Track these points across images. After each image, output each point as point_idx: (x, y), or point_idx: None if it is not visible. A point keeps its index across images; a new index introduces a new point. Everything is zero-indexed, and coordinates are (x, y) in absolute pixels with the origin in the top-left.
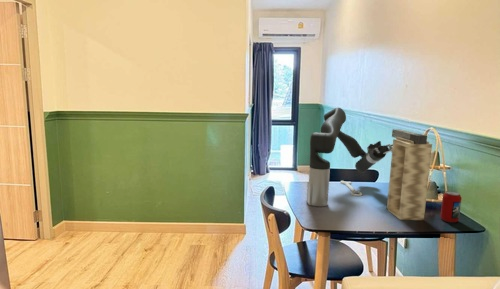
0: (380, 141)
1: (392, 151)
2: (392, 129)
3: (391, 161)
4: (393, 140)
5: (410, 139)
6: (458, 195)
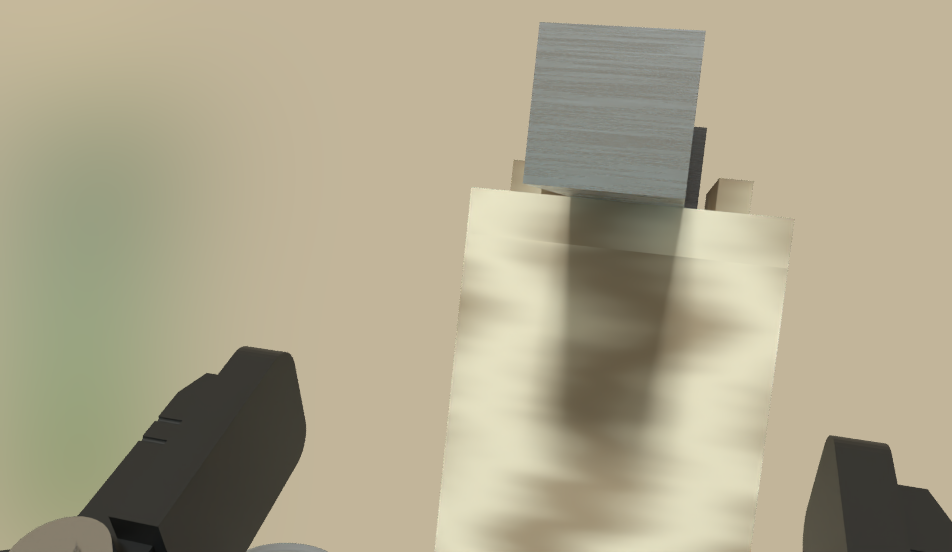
0: (832, 440)
1: (769, 394)
2: (704, 36)
3: (751, 535)
4: (791, 235)
5: (699, 182)
6: (292, 549)
